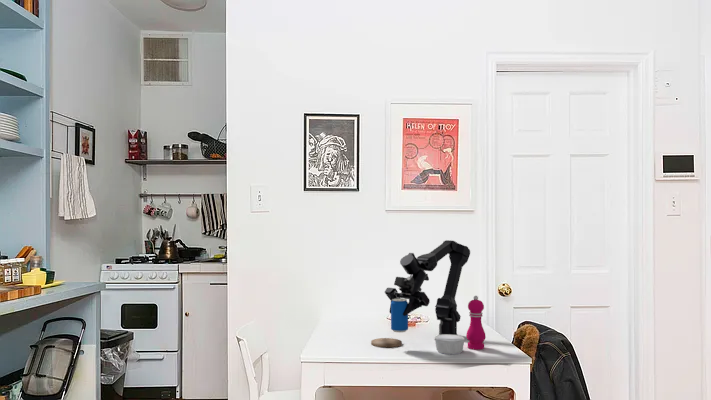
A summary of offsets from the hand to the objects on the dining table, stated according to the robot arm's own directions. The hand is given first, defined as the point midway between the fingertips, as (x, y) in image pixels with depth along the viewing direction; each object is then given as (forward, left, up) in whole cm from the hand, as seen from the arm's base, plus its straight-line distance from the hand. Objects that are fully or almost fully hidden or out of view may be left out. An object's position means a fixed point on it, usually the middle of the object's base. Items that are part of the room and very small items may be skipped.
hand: (396, 314), depth 214 cm
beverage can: (-1, -1, -7) cm, 7 cm away
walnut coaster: (+2, -9, -13) cm, 16 cm away
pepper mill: (-30, +4, -13) cm, 33 cm away
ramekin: (-18, +7, -14) cm, 24 cm away
